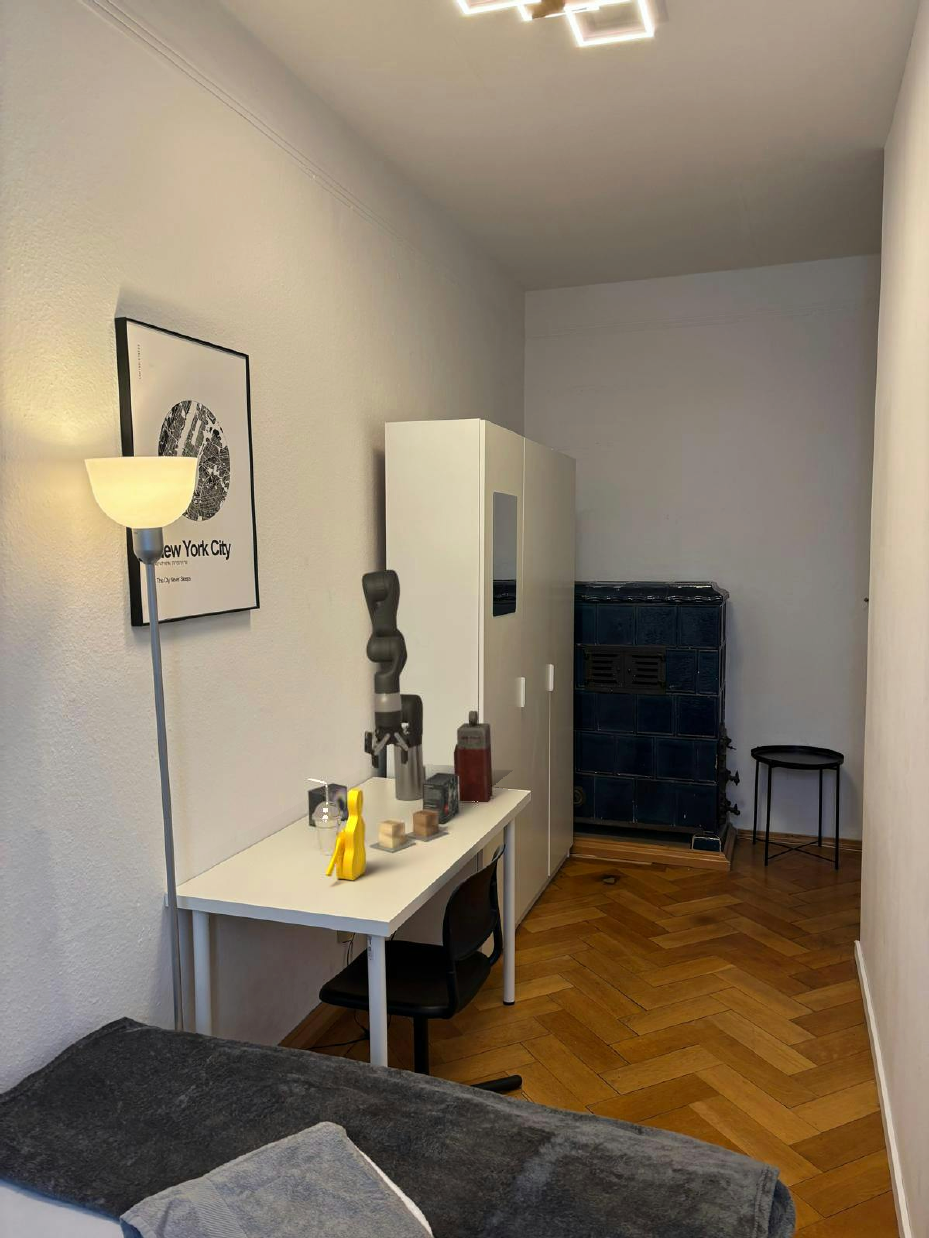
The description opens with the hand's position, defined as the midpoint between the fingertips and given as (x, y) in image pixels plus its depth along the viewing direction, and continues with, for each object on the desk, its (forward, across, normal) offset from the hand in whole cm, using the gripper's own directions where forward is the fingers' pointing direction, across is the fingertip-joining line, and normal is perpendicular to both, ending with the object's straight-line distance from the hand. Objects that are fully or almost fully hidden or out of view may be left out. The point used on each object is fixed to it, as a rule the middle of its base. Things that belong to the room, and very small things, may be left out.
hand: (390, 765), depth 267 cm
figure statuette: (+20, +23, +24) cm, 39 cm away
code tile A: (+20, -7, +6) cm, 22 cm away
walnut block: (+19, -7, +6) cm, 21 cm away
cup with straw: (+20, +21, +4) cm, 29 cm away
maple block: (+19, +4, +9) cm, 22 cm away
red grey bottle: (+19, -37, -19) cm, 46 cm away
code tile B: (+20, +4, +9) cm, 22 cm away
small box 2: (+20, -19, -6) cm, 28 cm away
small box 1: (+20, +10, -22) cm, 31 cm away
